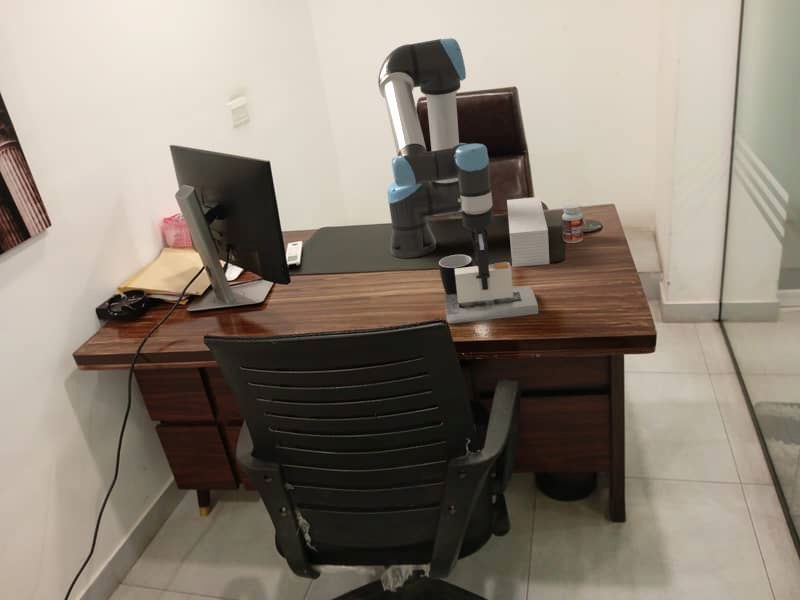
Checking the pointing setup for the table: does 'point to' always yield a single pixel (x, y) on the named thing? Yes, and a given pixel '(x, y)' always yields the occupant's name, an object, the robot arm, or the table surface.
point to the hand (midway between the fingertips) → (485, 295)
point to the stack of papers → (528, 232)
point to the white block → (470, 285)
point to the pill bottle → (572, 223)
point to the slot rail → (492, 307)
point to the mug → (452, 271)
